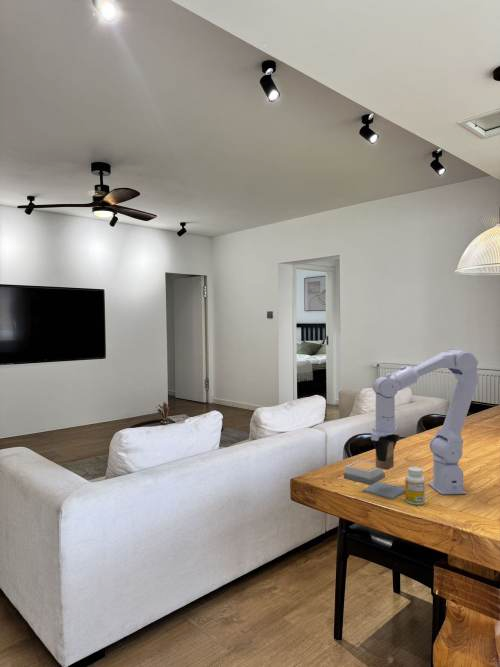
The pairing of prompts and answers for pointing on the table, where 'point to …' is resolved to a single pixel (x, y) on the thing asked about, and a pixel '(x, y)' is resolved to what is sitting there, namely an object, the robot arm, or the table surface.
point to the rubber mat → (385, 490)
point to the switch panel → (363, 474)
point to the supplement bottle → (415, 486)
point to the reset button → (364, 466)
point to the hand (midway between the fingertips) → (385, 459)
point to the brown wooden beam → (387, 458)
